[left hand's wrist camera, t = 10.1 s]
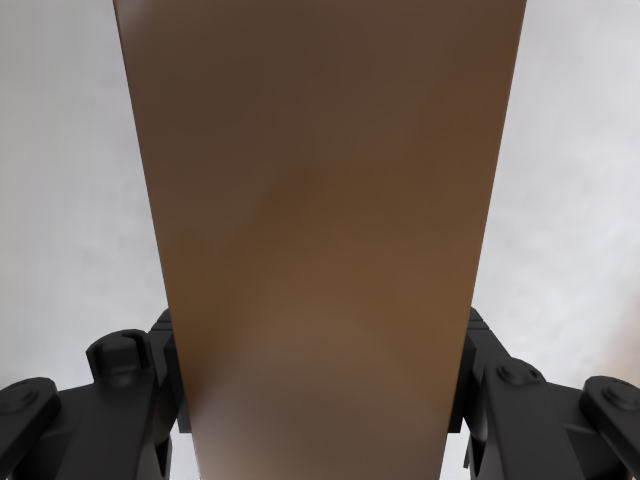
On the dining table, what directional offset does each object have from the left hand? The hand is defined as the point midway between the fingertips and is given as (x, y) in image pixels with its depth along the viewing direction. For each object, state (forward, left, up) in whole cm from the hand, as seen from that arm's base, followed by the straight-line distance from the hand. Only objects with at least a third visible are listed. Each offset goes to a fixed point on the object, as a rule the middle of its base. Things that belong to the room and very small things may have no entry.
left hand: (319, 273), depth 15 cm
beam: (-2, -21, -1) cm, 21 cm away
